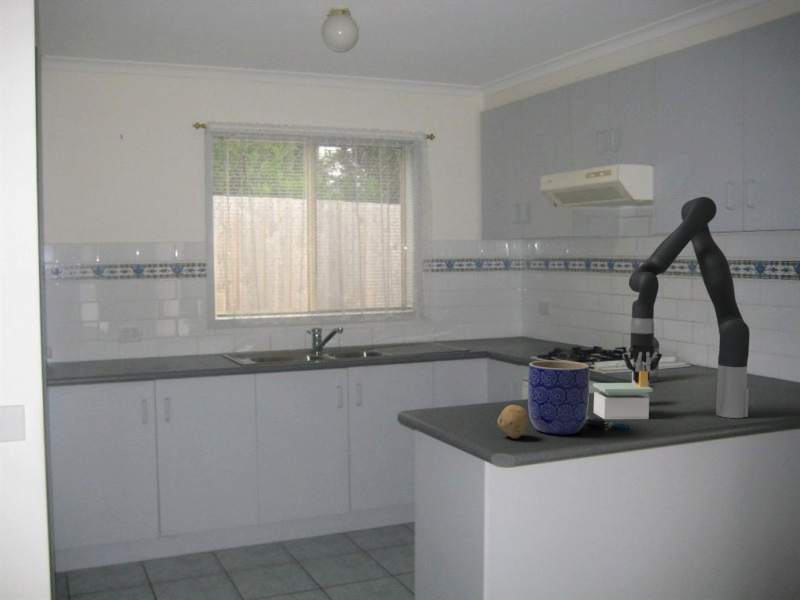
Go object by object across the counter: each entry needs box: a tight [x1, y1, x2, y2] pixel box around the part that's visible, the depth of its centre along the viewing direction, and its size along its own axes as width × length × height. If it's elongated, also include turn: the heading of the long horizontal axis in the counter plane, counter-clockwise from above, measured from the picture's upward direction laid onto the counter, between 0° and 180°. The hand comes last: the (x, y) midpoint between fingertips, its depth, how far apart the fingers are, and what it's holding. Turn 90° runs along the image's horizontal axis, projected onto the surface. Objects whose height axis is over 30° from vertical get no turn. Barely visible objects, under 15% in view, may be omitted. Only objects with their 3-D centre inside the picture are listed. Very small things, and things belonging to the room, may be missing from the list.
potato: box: [496, 404, 529, 439], centre depth 250 cm, size 9×9×10 cm
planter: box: [527, 359, 591, 436], centre depth 260 cm, size 18×18×21 cm
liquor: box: [639, 336, 660, 384], centre depth 357 cm, size 9×9×30 cm
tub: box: [593, 391, 650, 420], centre depth 285 cm, size 15×11×7 cm
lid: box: [592, 370, 653, 395], centre depth 284 cm, size 16×12×7 cm
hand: (641, 382), depth 285 cm, fingers closed on lid, 2 cm apart
